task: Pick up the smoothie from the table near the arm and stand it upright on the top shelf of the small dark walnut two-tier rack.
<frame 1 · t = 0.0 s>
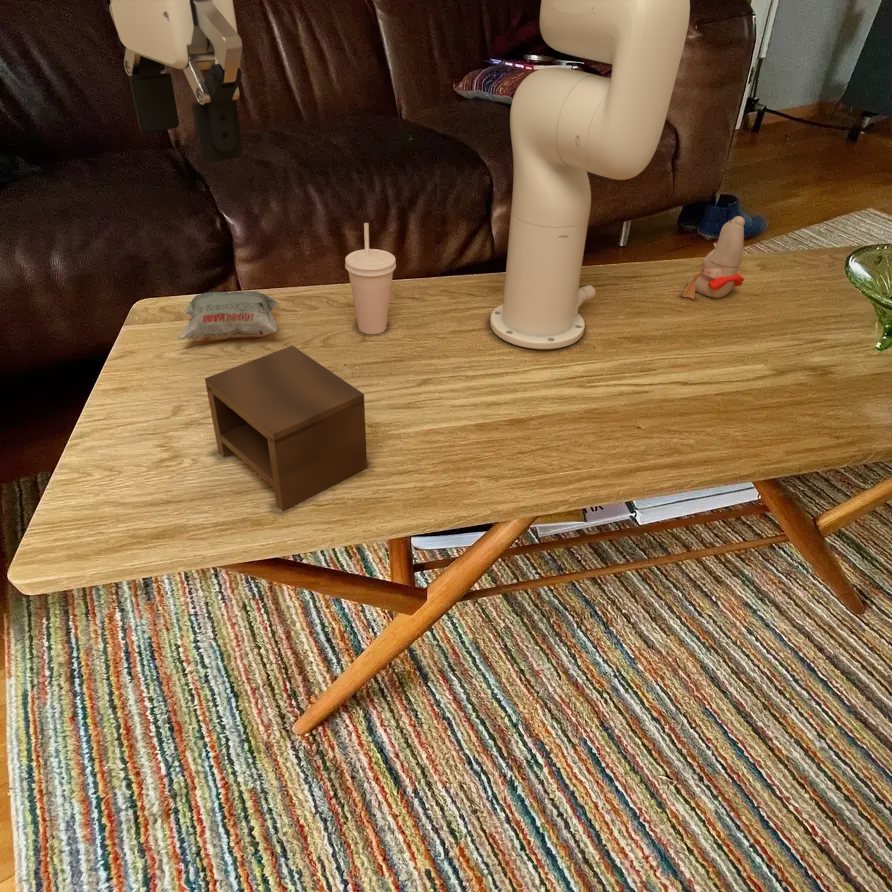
hand: (189, 143, 58), 31 cm above the table, tool pointing down, fingers open, 9 cm apart
packaged food: (233, 335, 98), on the table
smoothie: (372, 328, 101), on the table
figurine: (707, 293, 113), on the table
rack: (292, 460, 78), on the table
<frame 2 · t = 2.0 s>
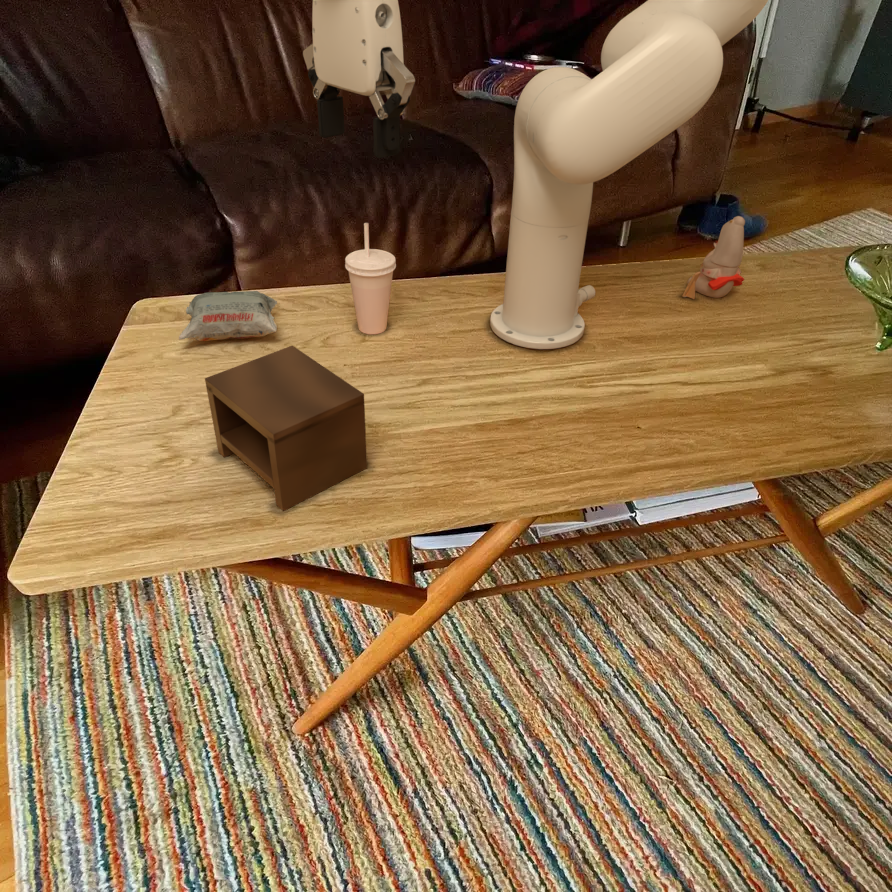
hand: (358, 145, 85), 24 cm above the table, tool pointing down, fingers open, 9 cm apart
nothing on the table moved.
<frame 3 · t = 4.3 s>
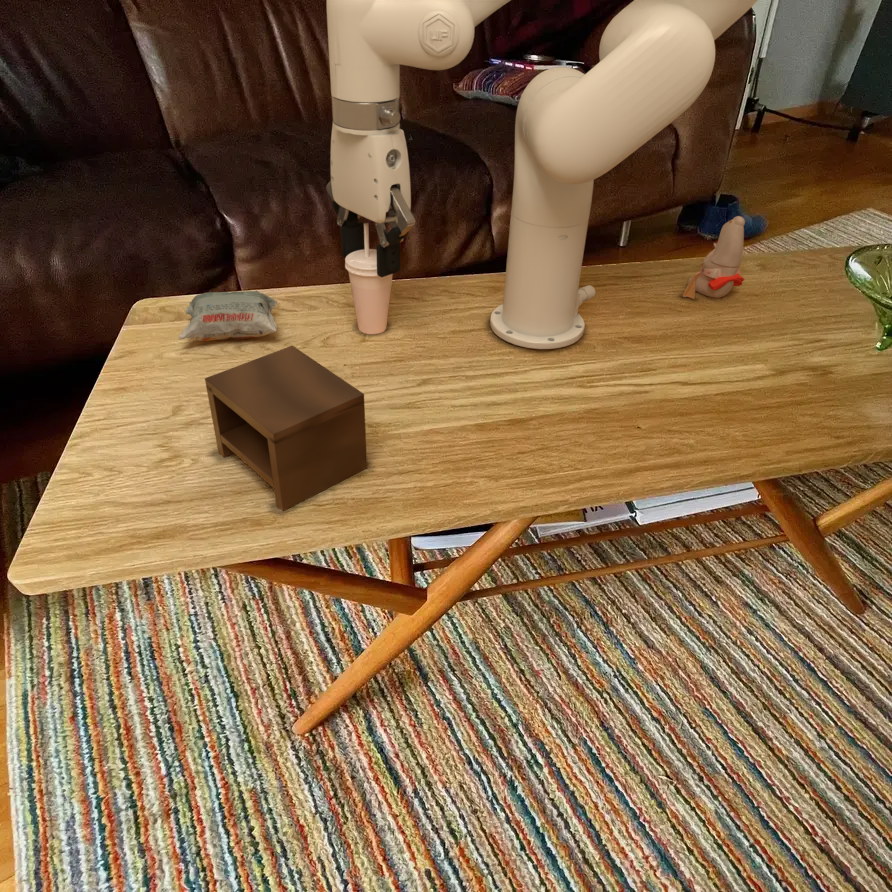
hand: (370, 263, 95), 9 cm above the table, tool pointing down, fingers closed on smoothie, 6 cm apart
smoothie: (372, 328, 101), on the table, touching gripper
everything else where it was.
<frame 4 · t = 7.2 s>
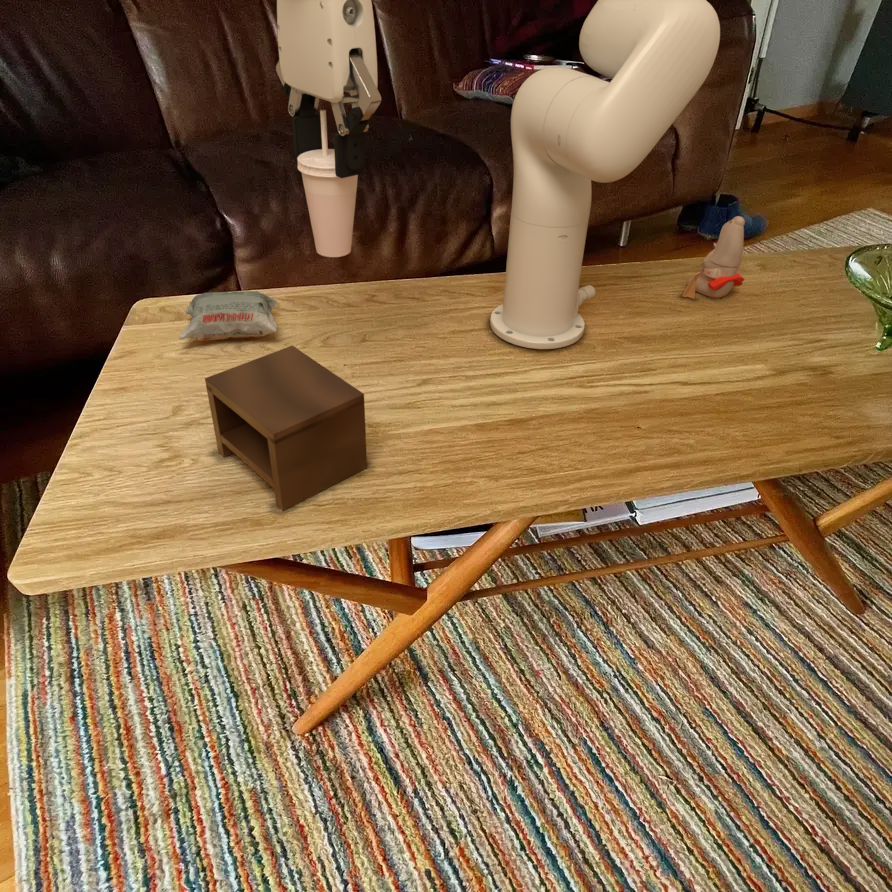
hand: (329, 164, 76), 25 cm above the table, tool pointing down, fingers closed on smoothie, 6 cm apart
smoothie: (333, 252, 82), point 16 cm above the table, touching gripper
everything else where it was.
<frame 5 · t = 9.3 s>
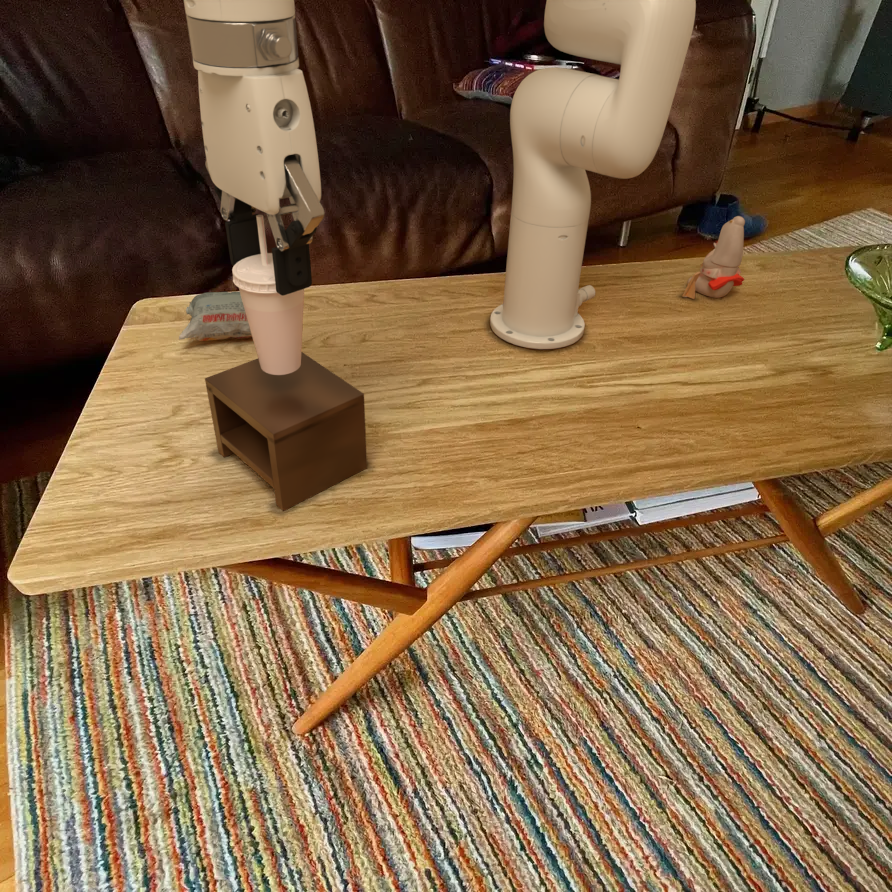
hand: (270, 274, 65), 20 cm above the table, tool pointing down, fingers closed on smoothie, 6 cm apart
smoothie: (281, 366, 71), point 11 cm above the table, touching gripper
everything else where it was.
when the fingers open (18 cm above the table, at t = 10.5 s): smoothie stays where it is, resting on rack.
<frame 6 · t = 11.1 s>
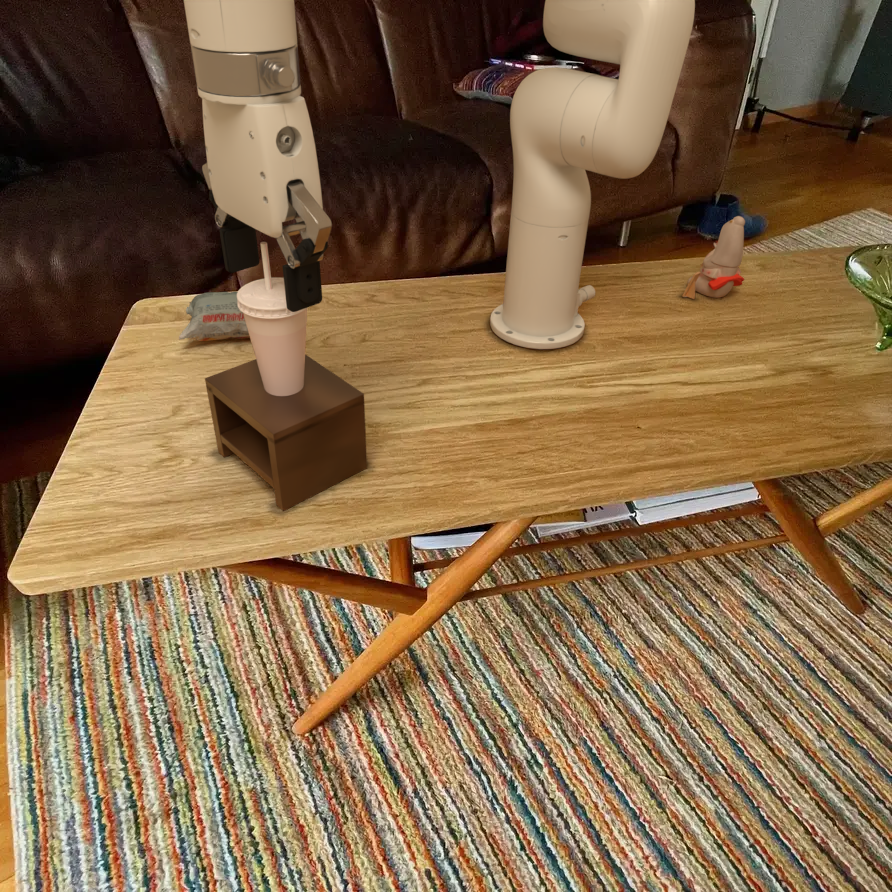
hand: (272, 286, 66), 19 cm above the table, tool pointing down, fingers open, 9 cm apart
smoothie: (284, 387, 72), point 9 cm above the table, touching rack
everything else where it was.
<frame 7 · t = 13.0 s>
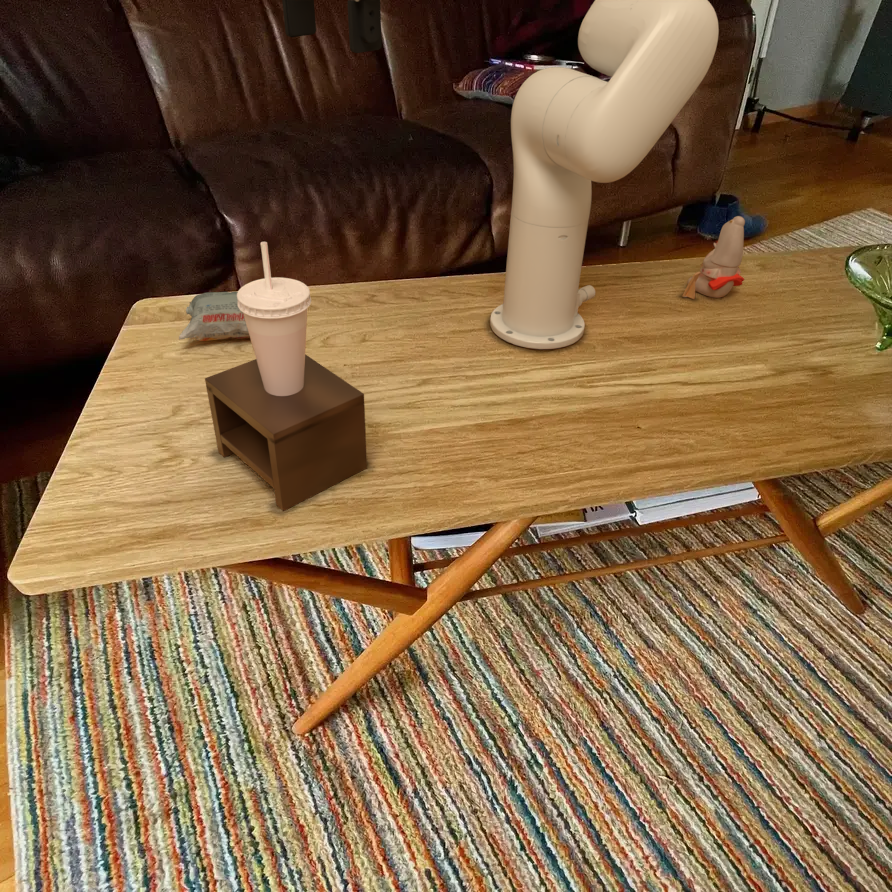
hand: (332, 42, 70), 36 cm above the table, tool pointing down, fingers open, 9 cm apart
nothing on the table moved.
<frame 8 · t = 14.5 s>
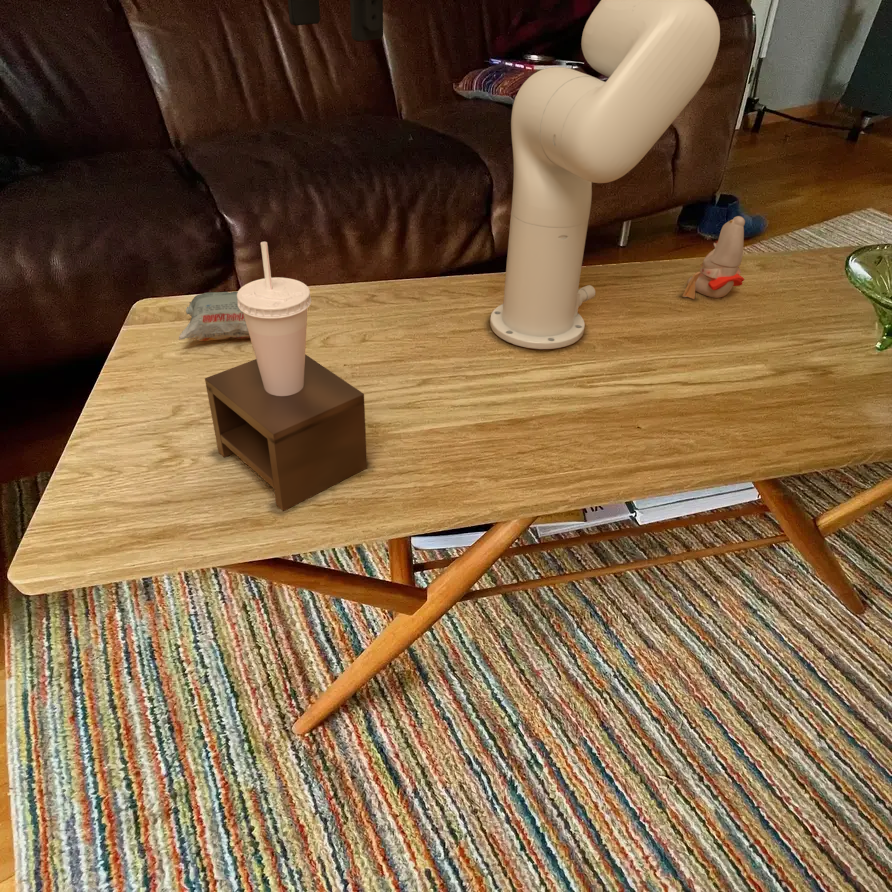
hand: (335, 31, 71), 36 cm above the table, tool pointing down, fingers open, 9 cm apart
nothing on the table moved.
at the end: smoothie inside the target area on the rack (0.1 cm from its centre), point 8.8 cm above the rack's base; smoothie tilted 0°; the gripper is holding nothing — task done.
